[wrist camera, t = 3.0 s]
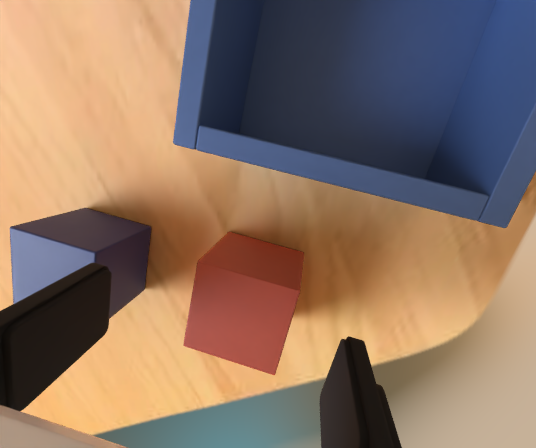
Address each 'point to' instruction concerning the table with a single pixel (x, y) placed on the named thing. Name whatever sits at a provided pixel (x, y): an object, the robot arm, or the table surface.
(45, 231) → the navy block
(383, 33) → the blue bin
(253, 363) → the terracotta block
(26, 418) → the robot arm
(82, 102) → the table surface
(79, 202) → the table surface
